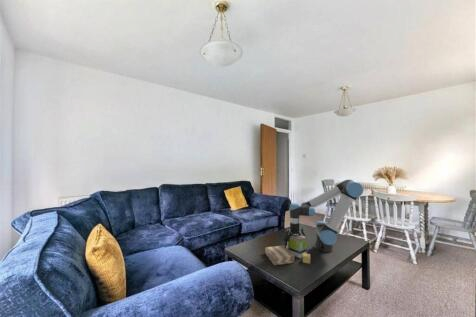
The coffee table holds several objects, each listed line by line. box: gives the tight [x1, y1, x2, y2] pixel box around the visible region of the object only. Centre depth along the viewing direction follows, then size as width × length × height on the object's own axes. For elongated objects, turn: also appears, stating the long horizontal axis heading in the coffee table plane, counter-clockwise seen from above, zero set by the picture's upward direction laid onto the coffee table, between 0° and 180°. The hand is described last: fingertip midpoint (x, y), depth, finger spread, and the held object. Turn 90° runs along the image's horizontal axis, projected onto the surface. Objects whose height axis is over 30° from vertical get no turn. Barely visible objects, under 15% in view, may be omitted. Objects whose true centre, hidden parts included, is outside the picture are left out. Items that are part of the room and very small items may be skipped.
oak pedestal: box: [264, 245, 296, 266], centre depth 161 cm, size 16×19×5 cm
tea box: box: [284, 232, 308, 259], centre depth 168 cm, size 15×10×15 cm, turn 38°
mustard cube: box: [302, 253, 311, 265], centre depth 155 cm, size 5×5×5 cm
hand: (294, 248), depth 169 cm, fingers open, 13 cm apart
